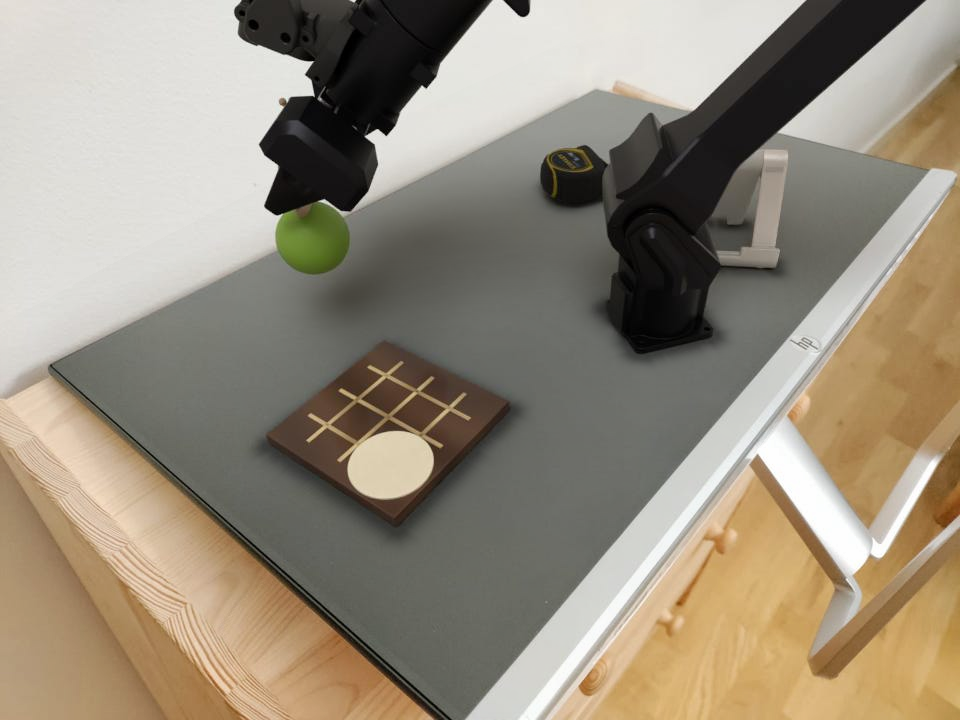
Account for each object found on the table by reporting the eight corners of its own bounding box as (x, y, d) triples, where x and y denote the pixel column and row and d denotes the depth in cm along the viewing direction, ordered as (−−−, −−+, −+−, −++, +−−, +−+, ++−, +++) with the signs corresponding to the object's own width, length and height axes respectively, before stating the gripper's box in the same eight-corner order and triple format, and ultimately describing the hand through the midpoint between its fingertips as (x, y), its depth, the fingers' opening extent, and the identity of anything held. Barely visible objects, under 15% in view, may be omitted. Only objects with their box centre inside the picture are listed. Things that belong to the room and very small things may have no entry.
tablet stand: (670, 267, 62) (684, 180, 56) (668, 220, 68) (680, 137, 62) (774, 273, 60) (798, 184, 55) (763, 224, 66) (784, 139, 61)
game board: (386, 349, 56) (384, 338, 55) (509, 410, 50) (509, 400, 49) (268, 444, 49) (264, 433, 48) (396, 527, 43) (393, 517, 43)
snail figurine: (357, 238, 58) (325, 91, 50) (354, 284, 53) (319, 130, 45) (290, 246, 57) (247, 100, 49) (282, 292, 53) (233, 139, 45)
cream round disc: (425, 433, 49) (423, 422, 48) (444, 496, 45) (442, 485, 44) (345, 453, 48) (342, 442, 47) (357, 519, 44) (353, 507, 43)
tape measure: (618, 201, 71) (622, 167, 68) (555, 215, 69) (556, 181, 67) (590, 172, 76) (592, 139, 73) (530, 184, 74) (530, 151, 72)
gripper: (336, -117, 46) (225, 64, 54) (247, -46, 32) (117, 181, 41) (466, 7, 50) (345, 156, 59) (437, 115, 37) (284, 290, 45)
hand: (282, 188), depth 51 cm, fingers closed on snail figurine, 6 cm apart
